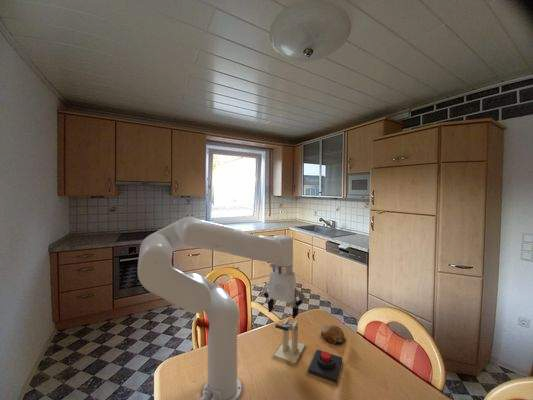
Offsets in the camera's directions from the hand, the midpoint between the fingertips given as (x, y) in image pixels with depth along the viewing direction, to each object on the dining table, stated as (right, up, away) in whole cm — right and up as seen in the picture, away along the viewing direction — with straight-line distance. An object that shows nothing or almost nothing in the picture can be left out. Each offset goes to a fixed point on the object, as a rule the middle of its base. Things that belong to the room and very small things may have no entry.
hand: (282, 313), depth 86 cm
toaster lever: (+2, -9, +4) cm, 10 cm away
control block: (+16, -21, 0) cm, 26 cm away
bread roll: (+24, -21, +17) cm, 36 cm away
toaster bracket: (+4, -20, +8) cm, 22 cm away
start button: (+16, -17, 0) cm, 23 cm away
